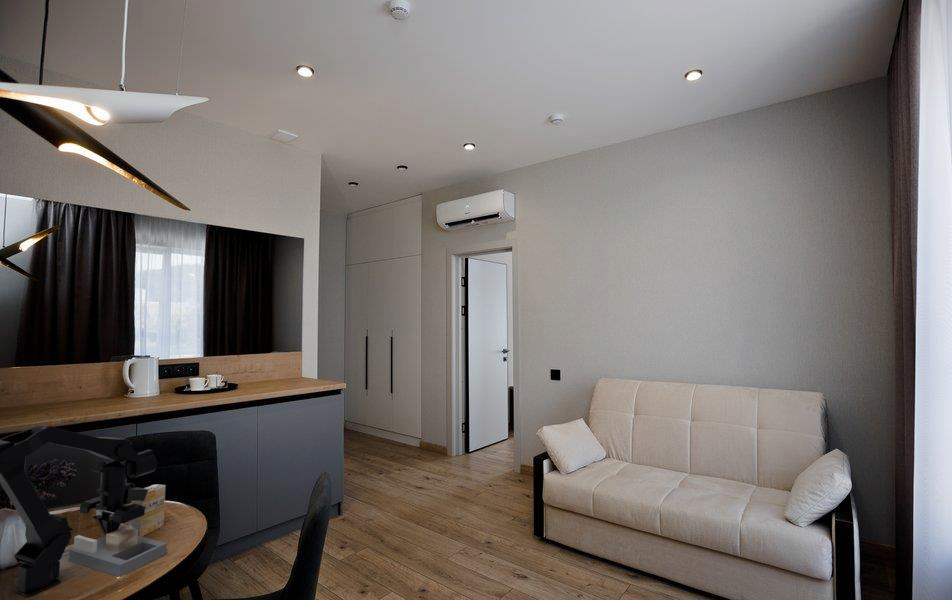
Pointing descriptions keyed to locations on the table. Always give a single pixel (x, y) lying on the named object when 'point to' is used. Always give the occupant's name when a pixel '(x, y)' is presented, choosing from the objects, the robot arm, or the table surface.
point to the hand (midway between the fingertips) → (110, 539)
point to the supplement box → (150, 510)
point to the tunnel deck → (115, 554)
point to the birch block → (121, 539)
